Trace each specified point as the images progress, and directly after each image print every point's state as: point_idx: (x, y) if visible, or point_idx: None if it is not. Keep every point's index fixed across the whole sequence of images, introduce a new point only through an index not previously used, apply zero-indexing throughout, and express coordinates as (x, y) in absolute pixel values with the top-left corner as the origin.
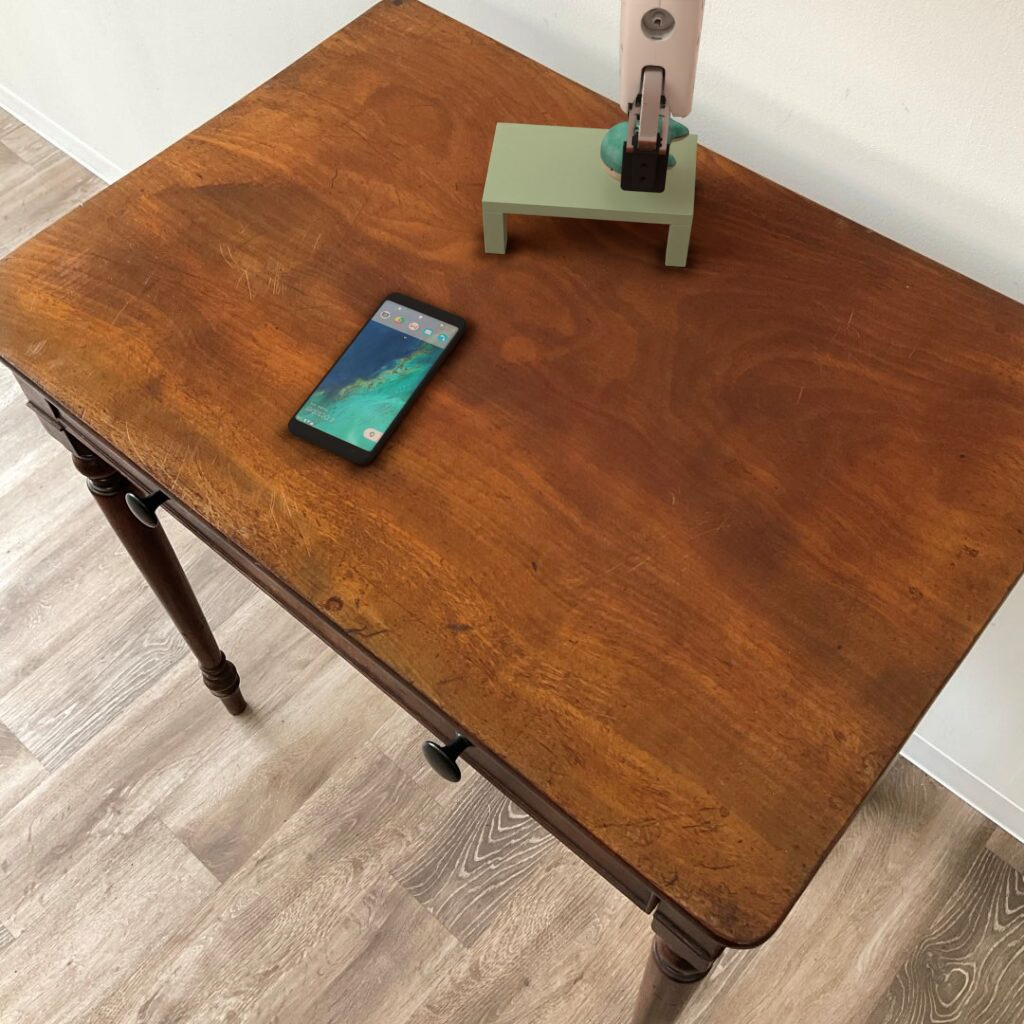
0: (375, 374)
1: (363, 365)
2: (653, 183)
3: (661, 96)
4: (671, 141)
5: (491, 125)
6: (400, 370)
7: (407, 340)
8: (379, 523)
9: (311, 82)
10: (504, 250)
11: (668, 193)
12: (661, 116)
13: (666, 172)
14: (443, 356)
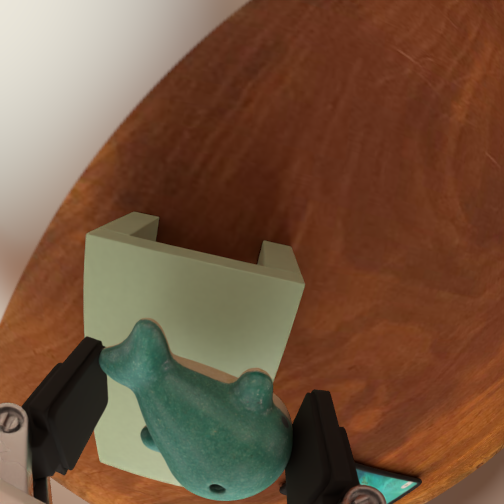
0: None
1: None
2: (345, 434)
3: (78, 398)
4: (181, 365)
5: None
6: (362, 484)
7: None
8: (455, 463)
9: (55, 474)
10: None
11: (240, 317)
12: (114, 380)
13: (338, 426)
14: (360, 467)
